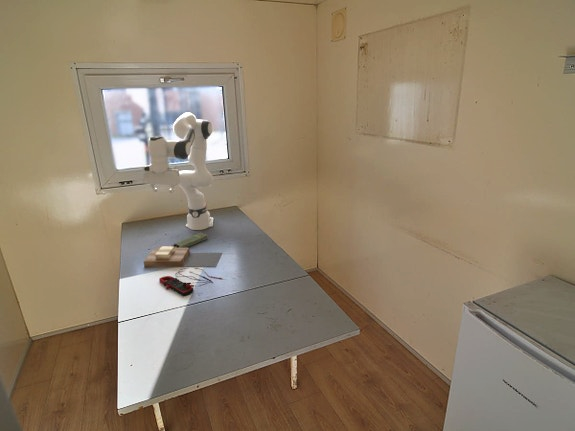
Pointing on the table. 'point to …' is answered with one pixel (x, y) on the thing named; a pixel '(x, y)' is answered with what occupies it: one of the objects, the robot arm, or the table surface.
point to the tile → (164, 252)
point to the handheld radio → (190, 240)
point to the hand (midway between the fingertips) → (163, 192)
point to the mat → (202, 260)
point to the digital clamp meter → (181, 283)
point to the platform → (173, 261)
